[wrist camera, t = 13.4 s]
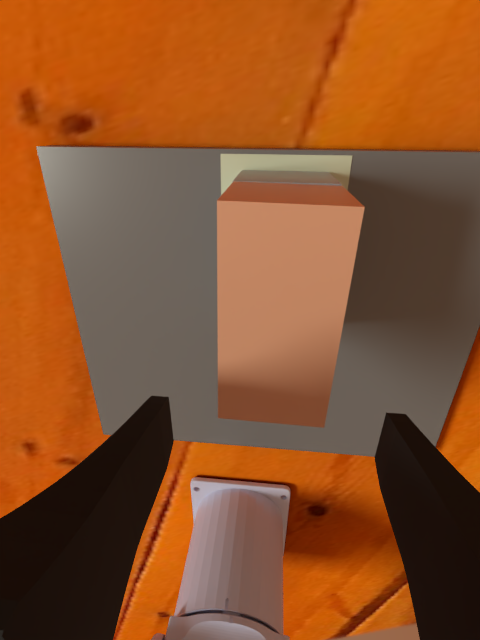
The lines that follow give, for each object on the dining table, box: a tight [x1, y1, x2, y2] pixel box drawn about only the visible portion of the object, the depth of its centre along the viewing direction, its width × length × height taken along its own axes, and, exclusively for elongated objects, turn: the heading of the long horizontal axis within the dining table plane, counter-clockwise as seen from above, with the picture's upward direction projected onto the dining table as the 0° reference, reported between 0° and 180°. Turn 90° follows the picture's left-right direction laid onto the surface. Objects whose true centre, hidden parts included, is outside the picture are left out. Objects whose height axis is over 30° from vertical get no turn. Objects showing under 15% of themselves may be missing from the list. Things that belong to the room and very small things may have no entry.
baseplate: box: [37, 145, 480, 457], centre depth 21 cm, size 19×23×1 cm
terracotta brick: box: [217, 181, 365, 428], centre depth 13 cm, size 8×4×4 cm, turn 179°
